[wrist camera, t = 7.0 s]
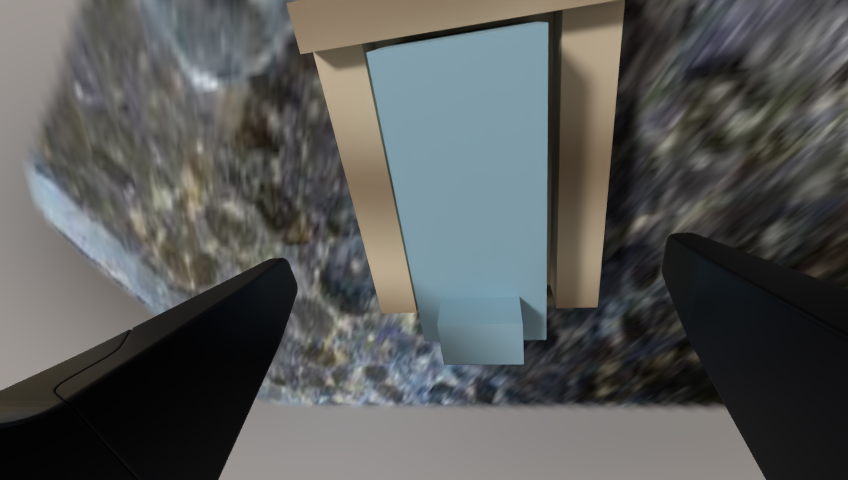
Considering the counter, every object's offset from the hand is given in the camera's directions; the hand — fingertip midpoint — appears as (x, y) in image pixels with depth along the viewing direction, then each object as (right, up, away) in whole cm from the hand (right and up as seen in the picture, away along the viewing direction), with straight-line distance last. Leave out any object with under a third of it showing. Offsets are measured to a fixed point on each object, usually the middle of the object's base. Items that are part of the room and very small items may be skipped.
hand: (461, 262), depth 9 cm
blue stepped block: (+1, +3, +5) cm, 6 cm away
